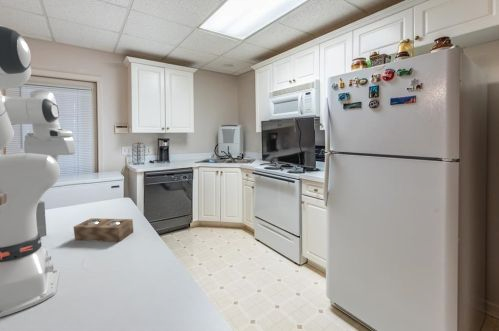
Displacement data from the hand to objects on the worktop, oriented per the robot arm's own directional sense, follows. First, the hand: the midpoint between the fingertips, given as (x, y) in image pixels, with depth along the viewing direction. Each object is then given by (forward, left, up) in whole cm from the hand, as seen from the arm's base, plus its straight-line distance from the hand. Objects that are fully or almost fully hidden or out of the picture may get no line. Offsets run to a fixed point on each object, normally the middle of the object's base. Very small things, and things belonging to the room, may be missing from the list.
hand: (51, 166), depth 105 cm
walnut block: (-13, -14, -31) cm, 36 cm away
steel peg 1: (-9, -11, -31) cm, 34 cm away
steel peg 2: (-17, -17, -31) cm, 39 cm away
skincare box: (+10, +8, -31) cm, 34 cm away
